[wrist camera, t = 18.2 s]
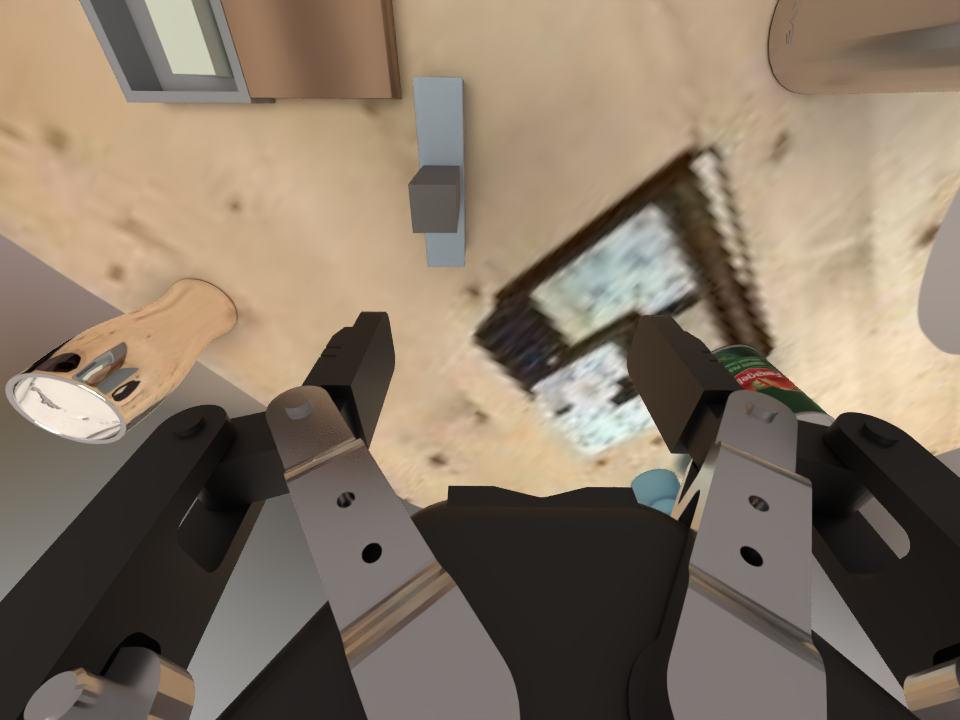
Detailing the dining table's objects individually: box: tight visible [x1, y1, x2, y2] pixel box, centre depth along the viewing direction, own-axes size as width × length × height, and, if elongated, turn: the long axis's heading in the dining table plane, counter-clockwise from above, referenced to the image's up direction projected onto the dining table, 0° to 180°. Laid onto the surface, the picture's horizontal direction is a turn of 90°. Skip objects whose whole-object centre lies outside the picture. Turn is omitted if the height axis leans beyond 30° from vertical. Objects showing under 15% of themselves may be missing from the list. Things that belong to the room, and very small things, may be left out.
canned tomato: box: [711, 344, 835, 426], centre depth 38 cm, size 8×8×11 cm
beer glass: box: [5, 279, 237, 444], centre depth 30 cm, size 7×7×15 cm
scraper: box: [408, 77, 466, 267], centre depth 24 cm, size 3×12×12 cm, turn 179°
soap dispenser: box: [631, 469, 681, 516], centre depth 49 cm, size 18×10×9 cm, turn 137°
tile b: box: [145, 0, 234, 78], centre depth 21 cm, size 4×4×2 cm
